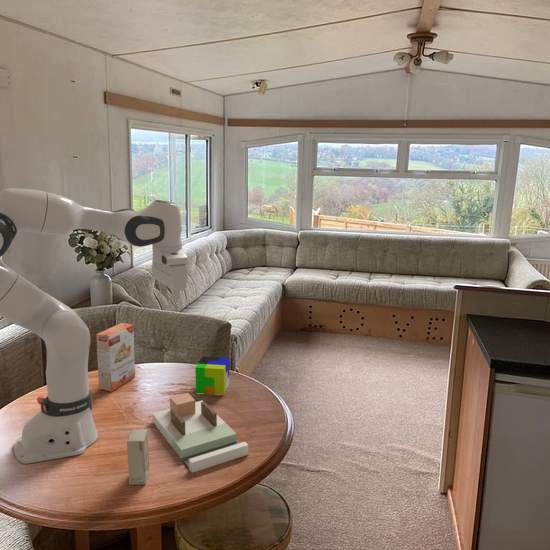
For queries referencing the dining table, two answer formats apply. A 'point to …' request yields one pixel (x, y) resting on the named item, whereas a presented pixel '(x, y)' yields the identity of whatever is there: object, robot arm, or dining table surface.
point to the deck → (200, 439)
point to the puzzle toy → (212, 375)
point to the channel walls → (205, 411)
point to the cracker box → (115, 356)
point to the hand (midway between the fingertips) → (169, 298)
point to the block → (183, 404)
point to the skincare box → (138, 457)
